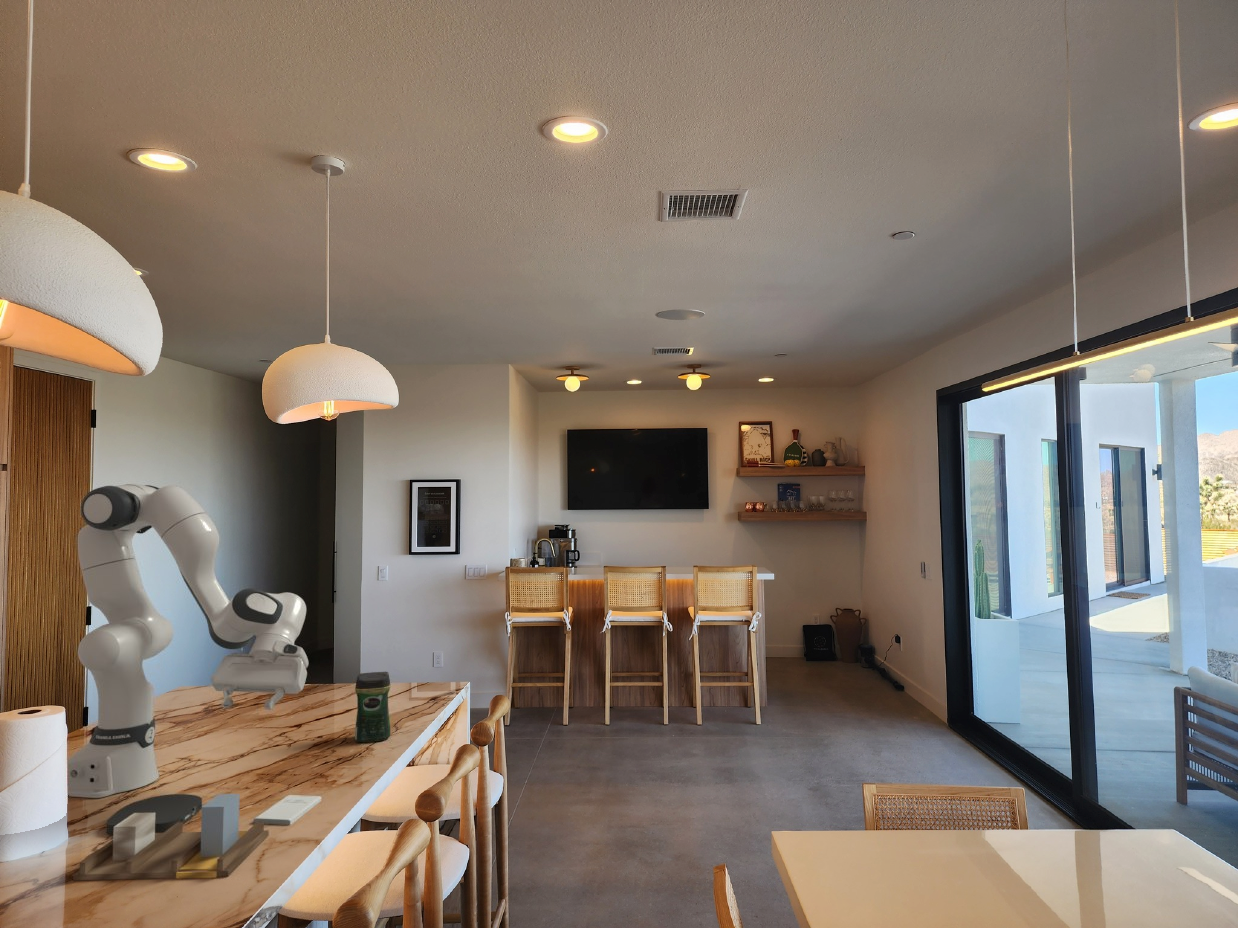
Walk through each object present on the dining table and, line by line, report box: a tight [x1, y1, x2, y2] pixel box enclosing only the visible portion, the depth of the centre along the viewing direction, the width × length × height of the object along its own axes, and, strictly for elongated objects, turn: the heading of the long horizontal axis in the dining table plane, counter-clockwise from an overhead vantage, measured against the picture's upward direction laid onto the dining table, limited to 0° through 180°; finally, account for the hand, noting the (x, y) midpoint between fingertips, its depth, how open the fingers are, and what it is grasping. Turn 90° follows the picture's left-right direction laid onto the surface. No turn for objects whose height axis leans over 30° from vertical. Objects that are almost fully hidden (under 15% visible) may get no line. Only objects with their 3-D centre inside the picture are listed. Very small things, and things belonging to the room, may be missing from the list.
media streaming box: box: [106, 793, 203, 836], centre depth 152 cm, size 15×15×3 cm
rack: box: [72, 813, 270, 881], centre depth 136 cm, size 27×16×7 cm, turn 92°
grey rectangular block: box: [200, 793, 240, 857], centre depth 136 cm, size 4×6×9 cm, turn 2°
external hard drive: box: [253, 794, 322, 826], centre depth 156 cm, size 2×8×12 cm
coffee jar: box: [354, 671, 391, 743], centre depth 205 cm, size 10×8×19 cm
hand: (246, 707), depth 161 cm, fingers open, 8 cm apart
